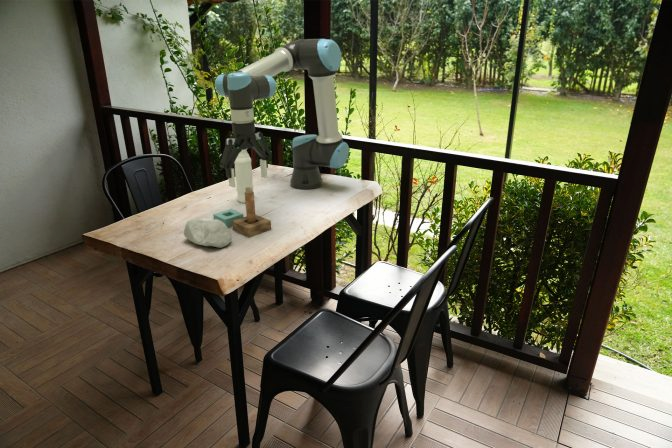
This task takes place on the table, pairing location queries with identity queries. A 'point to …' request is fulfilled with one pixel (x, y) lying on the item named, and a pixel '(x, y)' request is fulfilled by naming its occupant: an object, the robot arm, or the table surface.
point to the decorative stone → (207, 232)
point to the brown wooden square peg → (250, 205)
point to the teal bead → (228, 216)
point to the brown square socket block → (251, 226)
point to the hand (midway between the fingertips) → (248, 181)
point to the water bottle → (243, 174)
